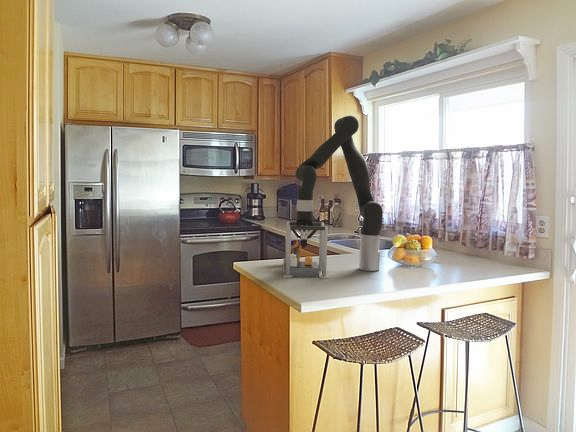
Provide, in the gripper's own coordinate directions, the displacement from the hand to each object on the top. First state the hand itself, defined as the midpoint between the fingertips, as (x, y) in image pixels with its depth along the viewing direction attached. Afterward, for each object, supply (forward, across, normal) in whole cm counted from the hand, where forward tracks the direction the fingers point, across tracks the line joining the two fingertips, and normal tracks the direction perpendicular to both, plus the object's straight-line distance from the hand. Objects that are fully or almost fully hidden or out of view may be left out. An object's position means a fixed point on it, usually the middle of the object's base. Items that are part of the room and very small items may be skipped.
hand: (303, 247), depth 205 cm
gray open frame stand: (+12, -1, 0) cm, 12 cm away
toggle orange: (+8, -2, 0) cm, 8 cm away
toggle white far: (+8, +4, -5) cm, 10 cm away
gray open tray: (+12, +1, 0) cm, 12 cm away
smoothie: (+12, +4, -18) cm, 22 cm away
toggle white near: (+8, +5, +5) cm, 10 cm away
